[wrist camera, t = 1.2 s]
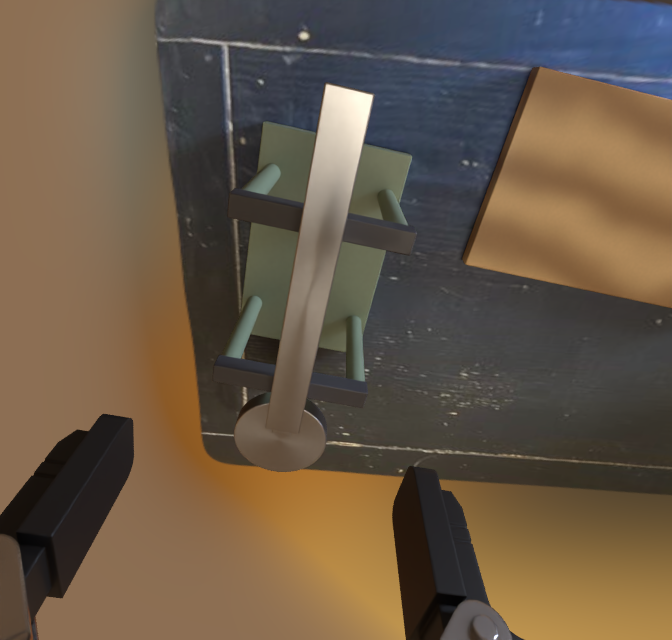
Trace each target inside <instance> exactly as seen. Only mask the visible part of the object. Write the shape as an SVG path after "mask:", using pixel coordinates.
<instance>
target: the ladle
mask: <svg viewBox="0 0 672 640" xmlns="http://www.w3.org/2000/svg"><path fill="white" fill-rule="evenodd" d="M374 97H375V95H374V93H370V92H366V91H362V90H357V89H353V88H349V87H345V86H341V85H337V84H332V83H328V82H325V84H324V90H323V96H322V101H321V107H320V113H319V119H318V125H317V130H316V136H315V142H314V148H313V153H312V159H311V165H310V171H309V177H308V182H307V188H306V194H305V200H304V205H303V211H302V217H301V223H300V229H299V234H298V240H297V246H296V252H295V257H294V263H293V269H292V275H291V281H290V286H289V292H288V298H287V304H286V309H285V315H284V321H283V327H282V332H281V338H280V344H279V350H278V356H277V361H276V367H275V373H274V379H273V384H272V390H271V392H268V393H264V394H261V395H258V396H256V397H254V398H253V399H251V400H250V401H249V402H247V403H246V404H245V405H244V407H243V408H242V410H241V411H240V414H239V416H238V419H237V422H236V425H235V429H234V439H235V443H236V445H237V448H238V449H239V451H240V452H241V454H242V455H243V456H244V457H245V458H246V459H247V460H249V461H250V462H251V463H253V464H255V465H257V466H259V467H261V468H264V469H267V470H271V471H277V472H291V471H297V470H300V469H303V468H306V467H308V466H310V465H311V464H313V463H314V462H315V461H316V460H318V459H319V457H320V456H321V455H322V453H323V451H324V449H325V446H326V437H327V424H326V420H325V417H324V415H323V413H322V412H321V411H320V409H319V408H318V407H317V406H316V405H315V404H314V403H313V402H311V401H310V400H308V399H307V395H308V391H309V386H310V382H311V377H312V373H313V368H314V364H315V359H316V355H317V351H318V346H319V342H320V337H321V333H322V328H323V324H324V319H325V315H326V310H327V306H328V302H329V297H330V293H331V288H332V284H333V279H334V275H335V270H336V266H337V261H338V257H339V253H340V248H341V244H342V239H343V235H344V230H345V226H346V221H347V217H348V212H349V208H350V204H351V199H352V195H353V190H354V186H355V181H356V177H357V172H358V168H359V164H360V159H361V155H362V150H363V146H364V141H365V137H366V132H367V128H368V123H369V119H370V115H371V110H372V106H373V101H374Z"/></svg>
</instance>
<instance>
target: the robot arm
mask: <svg viewBox="0 0 672 640" xmlns="http://www.w3.org/2000/svg"><path fill="white" fill-rule="evenodd" d="M133 442H134V441H133V420H132V419H131V418H126V417H120V416H114V415H108V414H102V415H101V416H100V417H99V418H98V419H97V421H96V422H95V424H94V425H93V426H92V428H91V429H90V430H89V431H82V430H76V431H74V432H73V433H72V434H70V435H68V436H67V437H65V438H64V439H62V440H61V441H59V442H58V443H57V444H56V446H55V447H54V448H53V450H52V451H51V452H50V453H49V454H48V456H47V457H46V458H45V461H44V462H42V463H41V464H40V466H39V467H38V468H37V470H36V471H35V473H34V475H33V476H31V477H30V478H29V480H28V481H27V482H26V483H25V485H24V486H23V487H22V489H21V490H20V491H19V492H18V493H17V495H16V496H15V497H14V499H13V500H12V501H11V502H10V504H9V505H8V506H7V507H6V509H5V510H4V511H3V512H2V514H1V515H0V640H39V639H38V632H37V623H36V617H35V616H36V614H37V612H38V610H39V609H40V607H41V605H42V603H43V602H44V600H45V598H46V596H48V597H56V598H63V596H64V594H65V592H66V591H67V589H68V587H69V585H70V583H71V581H72V580H73V578H74V576H75V574H76V572H77V570H78V569H79V567H80V565H81V563H82V561H83V559H84V557H85V556H86V554H87V552H88V550H89V548H90V547H91V545H92V543H93V541H94V539H95V537H96V536H97V534H98V532H99V530H100V528H101V526H102V524H103V523H104V521H105V519H106V517H107V515H108V513H109V511H110V510H111V508H112V506H113V504H114V502H115V501H116V499H117V497H118V495H119V493H120V491H121V490H122V488H123V486H124V484H125V482H126V480H127V478H128V476H129V474H130V471H131V468H132V464H133V458H134V446H133V445H134V443H133ZM392 516H393V517H392V518H393V530H394V538H395V547H396V556H397V564H398V574H399V582H400V591H401V600H402V608H403V617H404V626H405V635H406V640H524V639H521V638H520V637H518V636H516V635H515V634H514V633H512V632H511V631H510V630H509V628H508V626H507V624H506V623H505V621H504V620H503V619H502V617H501V616H500V615H499V614H498V613H497V612H496V611H495V610H494V609H493V608H492V607H491V606H490V604H489V601H488V598H487V595H486V592H485V587H484V584H483V580H482V577H481V573H480V570H479V566H478V563H477V559H476V555H475V552H474V548H473V545H472V544H471V538H470V534H469V531H468V529H467V523H466V520H465V516H464V513H463V509H462V507H461V506H460V504H459V503H458V501H457V500H456V498H455V497H454V495H453V494H452V492H451V491H445V490H441V487H440V483H439V478H438V475H437V472H436V471H435V470H432V469H426V468H420V467H414V466H409V467H408V469H407V471H406V474H405V476H404V478H403V481H402V483H401V486H400V488H399V490H398V493H397V495H396V498H395V500H394V505H393V513H392Z"/></svg>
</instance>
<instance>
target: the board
mask: <svg viewBox="0 0 672 640" xmlns="http://www.w3.org/2000/svg"><path fill="white" fill-rule="evenodd" d="M462 260H463V262H464V263H465V264H466V265H470V266H475V267H479V268H484V269H489V270H494V271H498V272H503V273H508V274H513V275H517V276H522V277H527V278H531V279H536V280H541V281H546V282H550V283H555V284H560V285H565V286H569V287H574V288H579V289H584V290H588V291H593V292H598V293H603V294H607V295H612V296H617V297H621V298H626V299H631V300H636V301H640V302H645V303H650V304H655V305H659V306H664V307H669V308H672V100H670V99H666V98H662V97H658V96H654V95H650V94H646V93H642V92H638V91H635V90H631V89H627V88H623V87H619V86H615V85H611V84H607V83H603V82H599V81H595V80H591V79H587V78H583V77H579V76H575V75H571V74H567V73H563V72H559V71H555V70H551V69H547V68H544V67H534V68H532V70H531V73H530V76H529V79H528V81H527V84H526V87H525V89H524V92H523V95H522V97H521V100H520V103H519V106H518V108H517V111H516V114H515V116H514V119H513V122H512V125H511V127H510V130H509V133H508V135H507V138H506V141H505V143H504V146H503V149H502V152H501V154H500V157H499V160H498V162H497V165H496V168H495V171H494V173H493V176H492V179H491V181H490V184H489V187H488V189H487V192H486V195H485V198H484V200H483V203H482V206H481V208H480V211H479V214H478V216H477V219H476V222H475V225H474V227H473V230H472V233H471V235H470V238H469V241H468V244H467V246H466V249H465V252H464V254H463V257H462Z"/></svg>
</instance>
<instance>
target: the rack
mask: <svg viewBox="0 0 672 640" xmlns="http://www.w3.org/2000/svg"><path fill="white" fill-rule="evenodd" d="M315 136H316V132H312V131H308V130H304V129H299V128H295V127H291V126H286V125H282V124H278V123H273V122H269V121H265V122H263V126H262V135H261V143H260V152H259V160H258V169H257V174H256V175H255V176H254V177H253V178H252V179H251V180H250V181H249V182H248V183H247V184H246V185H245V186H244V187H243V188H242V189H237V188H235V189H234V190H233V191H231V192H230V193H229V202H228V213H227V217H229V218H233V219H238V220H243V221H248V222H251V228H250V237H249V245H248V254H247V262H246V271H245V279H244V288H243V296H242V305H241V313H240V316H239V318H238V320H237V322H236V325H235V327H234V329H233V331H232V333H231V335H230V337H229V339H228V341H227V344H226V346H225V348H224V350H223V352H222V354H221V355H219V356H218V358H217V360H216V362H215V364H214V369H213V381H214V382H219V383H225V384H231V385H236V386H242V387H247V388H253V389H258V390H264V391H269V392H271V390H272V384H273V379H274V373H275V367H276V365H272V364H267V363H261V362H256V361H251V360H245V359H241V357H242V354H243V352H244V349H245V347H246V344H247V341H248V339H249V336H250V334H252V335H257V336H263V337H268V338H273V339H278V340H280V338H281V332H282V327H283V321H284V315H285V309H286V304H287V298H288V292H289V286H290V281H291V275H292V269H293V263H294V257H295V252H296V246H297V240H298V234H299V229H300V223H301V217H302V211H303V205H304V200H305V194H306V188H307V182H308V177H309V171H310V165H311V159H312V153H313V148H314V142H315ZM411 159H412V156H411V155H410V154H408V153H404V152H399V151H395V150H391V149H386V148H382V147H378V146H373V145H369V144H365V143H364V146H363V150H362V155H361V159H360V164H359V168H358V172H357V177H356V181H355V186H354V190H353V195H352V199H351V204H350V208H349V212H348V217H347V221H346V226H345V230H344V235H343V239H342V244H341V248H340V253H339V257H338V261H337V266H336V270H335V275H334V279H333V284H332V288H331V293H330V297H329V302H328V306H327V310H326V315H325V319H324V324H323V328H322V333H321V337H320V342H319V346H318V347H320V348H326V349H331V350H336V351H342V352H346V378H343V377H337V376H332V375H326V374H321V373H316V372H313V373H312V377H311V382H310V386H309V391H308V395H307V398H308V399H314V400H319V401H325V402H331V403H336V404H342V405H347V406H353V407H358V408H363V407H364V404H365V401H366V398H367V395H368V390H367V382H365V375H364V359H363V343H362V335H363V332H364V328H365V325H366V321H367V317H368V314H369V310H370V307H371V303H372V299H373V296H374V292H375V289H376V285H377V282H378V278H379V274H380V271H381V267H382V264H383V260H384V256H385V253H386V251H390V252H395V253H400V254H404V255H411V252H412V249H413V246H414V242H415V239H416V236H417V232H416V230H415V228H414V227H413V226H408V224H407V221H406V219H405V217H404V215H403V213H402V210H401V208H400V206H399V202H400V199H401V195H402V192H403V188H404V184H405V181H406V177H407V174H408V170H409V167H410V163H411Z"/></svg>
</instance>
